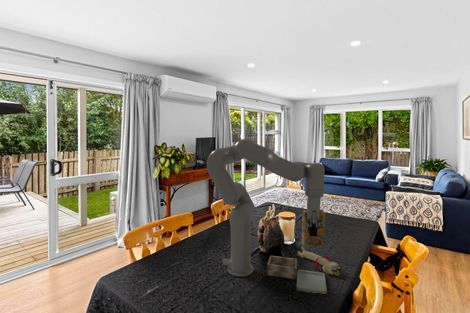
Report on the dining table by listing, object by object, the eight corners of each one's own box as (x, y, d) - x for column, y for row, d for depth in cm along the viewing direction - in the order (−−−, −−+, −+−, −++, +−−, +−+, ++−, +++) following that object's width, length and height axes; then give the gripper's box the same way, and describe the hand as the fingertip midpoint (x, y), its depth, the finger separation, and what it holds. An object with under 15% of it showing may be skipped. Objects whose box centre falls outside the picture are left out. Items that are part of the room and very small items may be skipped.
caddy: (267, 275, 122) (267, 264, 121) (269, 265, 131) (270, 255, 131) (296, 279, 118) (296, 268, 118) (296, 268, 128) (297, 258, 127)
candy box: (303, 247, 112) (304, 212, 111) (301, 243, 116) (302, 209, 115) (324, 247, 112) (325, 212, 111) (321, 243, 116) (322, 209, 115)
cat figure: (294, 259, 140) (331, 278, 118) (293, 243, 140) (331, 259, 118) (307, 255, 145) (346, 273, 123) (307, 240, 145) (346, 254, 123)
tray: (296, 290, 110) (296, 286, 110) (297, 272, 124) (297, 269, 124) (326, 295, 107) (326, 291, 107) (324, 276, 121) (324, 273, 121)
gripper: (305, 187, 121) (304, 226, 123) (305, 196, 105) (303, 240, 107) (322, 188, 120) (321, 227, 121) (325, 197, 103) (323, 242, 105)
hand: (313, 233), depth 114 cm, fingers closed on candy box, 5 cm apart
